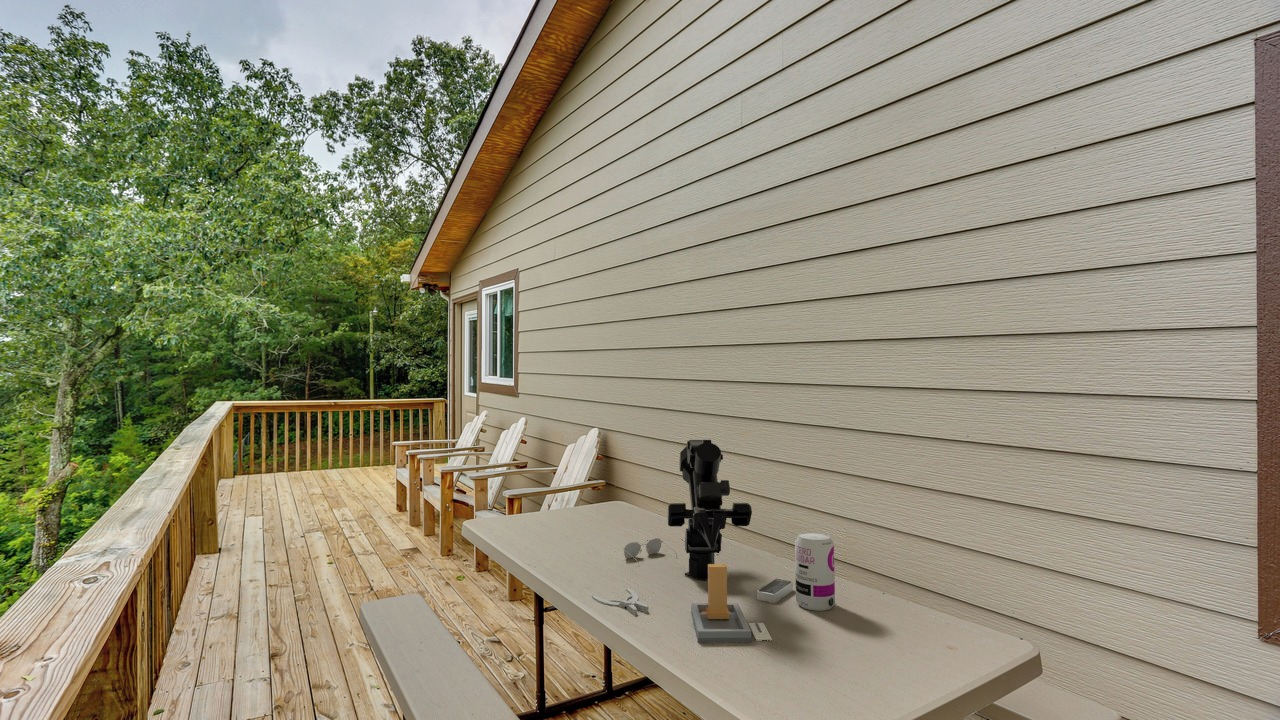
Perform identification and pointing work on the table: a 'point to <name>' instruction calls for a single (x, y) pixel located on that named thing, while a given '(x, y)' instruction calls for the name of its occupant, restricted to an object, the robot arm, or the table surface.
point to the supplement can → (815, 571)
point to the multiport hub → (775, 590)
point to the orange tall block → (717, 592)
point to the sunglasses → (635, 548)
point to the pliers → (626, 603)
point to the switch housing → (726, 626)
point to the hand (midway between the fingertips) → (712, 548)
